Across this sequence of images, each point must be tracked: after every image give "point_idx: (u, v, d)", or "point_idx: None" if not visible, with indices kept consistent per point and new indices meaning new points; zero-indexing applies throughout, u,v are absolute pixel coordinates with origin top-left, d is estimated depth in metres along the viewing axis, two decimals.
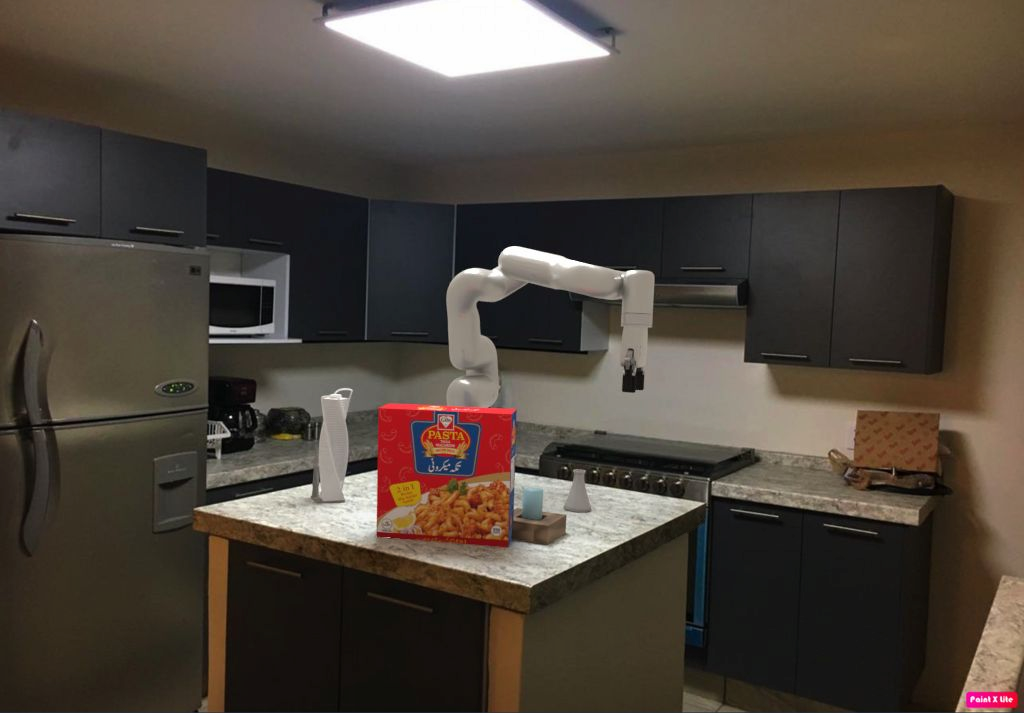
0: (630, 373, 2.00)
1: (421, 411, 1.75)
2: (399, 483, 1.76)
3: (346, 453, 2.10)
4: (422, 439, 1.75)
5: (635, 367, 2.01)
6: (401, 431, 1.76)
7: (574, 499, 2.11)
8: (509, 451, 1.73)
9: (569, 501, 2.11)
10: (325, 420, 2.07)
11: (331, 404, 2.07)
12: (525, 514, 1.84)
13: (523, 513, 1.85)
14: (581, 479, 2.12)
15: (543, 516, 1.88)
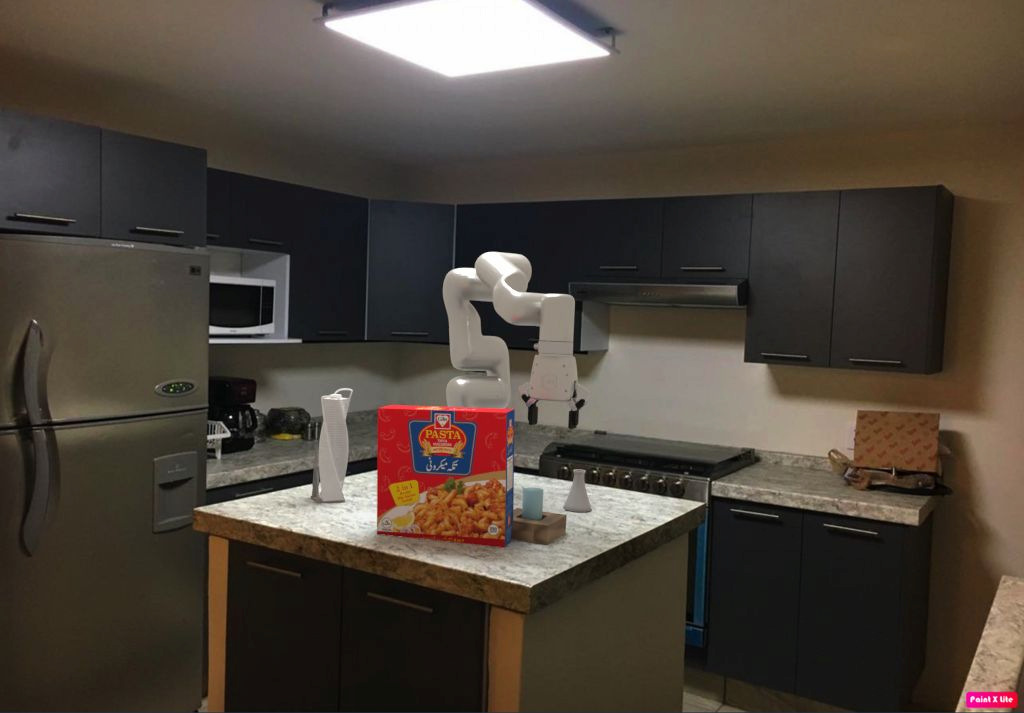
0: (581, 407, 1.85)
1: (418, 411, 1.77)
2: (398, 482, 1.79)
3: (346, 453, 2.10)
4: (420, 438, 1.77)
5: (576, 400, 1.87)
6: (399, 430, 1.78)
7: (574, 499, 2.11)
8: (504, 449, 1.74)
9: (569, 501, 2.11)
10: (325, 420, 2.07)
11: (331, 404, 2.07)
12: (525, 514, 1.84)
13: (523, 513, 1.85)
14: (581, 478, 2.12)
15: (543, 516, 1.88)
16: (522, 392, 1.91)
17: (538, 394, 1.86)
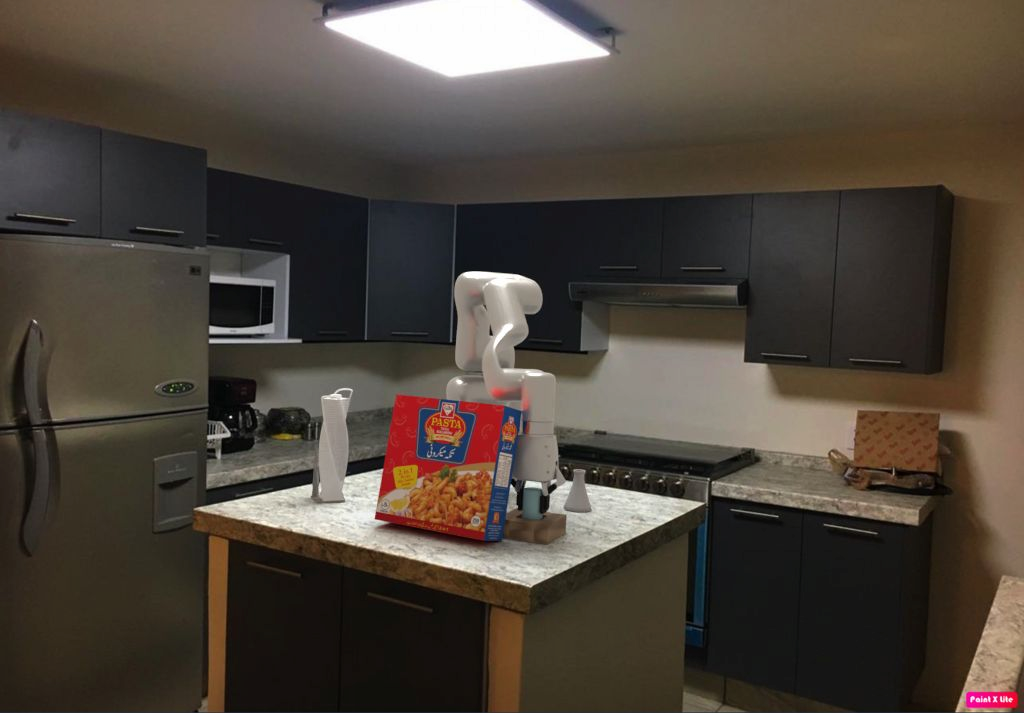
0: None
1: (429, 399, 1.86)
2: (401, 466, 1.85)
3: (346, 453, 2.10)
4: (426, 425, 1.84)
5: None
6: (410, 416, 1.87)
7: (574, 499, 2.11)
8: (497, 442, 1.75)
9: (569, 501, 2.11)
10: (325, 420, 2.07)
11: (331, 404, 2.07)
12: (525, 514, 1.84)
13: (523, 513, 1.85)
14: (581, 478, 2.12)
15: (543, 516, 1.88)
16: None
17: (519, 474, 1.84)
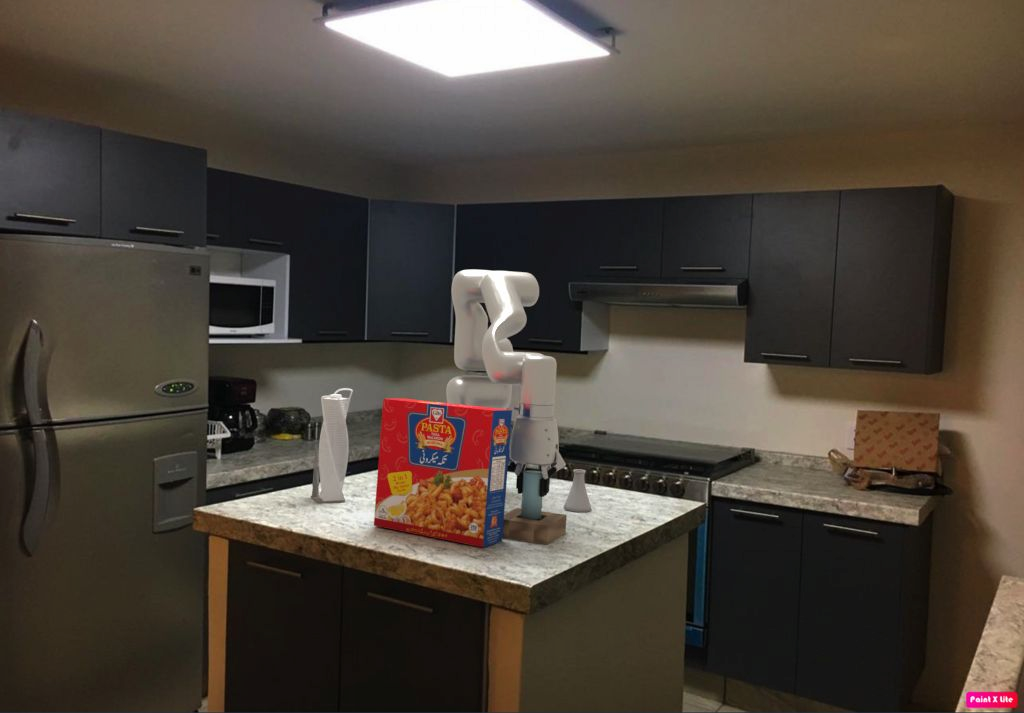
0: None
1: (417, 403, 1.82)
2: (395, 472, 1.84)
3: (346, 453, 2.10)
4: (417, 430, 1.81)
5: None
6: (400, 421, 1.84)
7: (574, 499, 2.11)
8: (489, 448, 1.73)
9: (569, 501, 2.11)
10: (325, 420, 2.07)
11: (331, 404, 2.07)
12: (525, 497, 1.84)
13: (523, 496, 1.85)
14: (581, 478, 2.12)
15: (543, 516, 1.88)
16: (509, 461, 1.87)
17: (519, 457, 1.84)
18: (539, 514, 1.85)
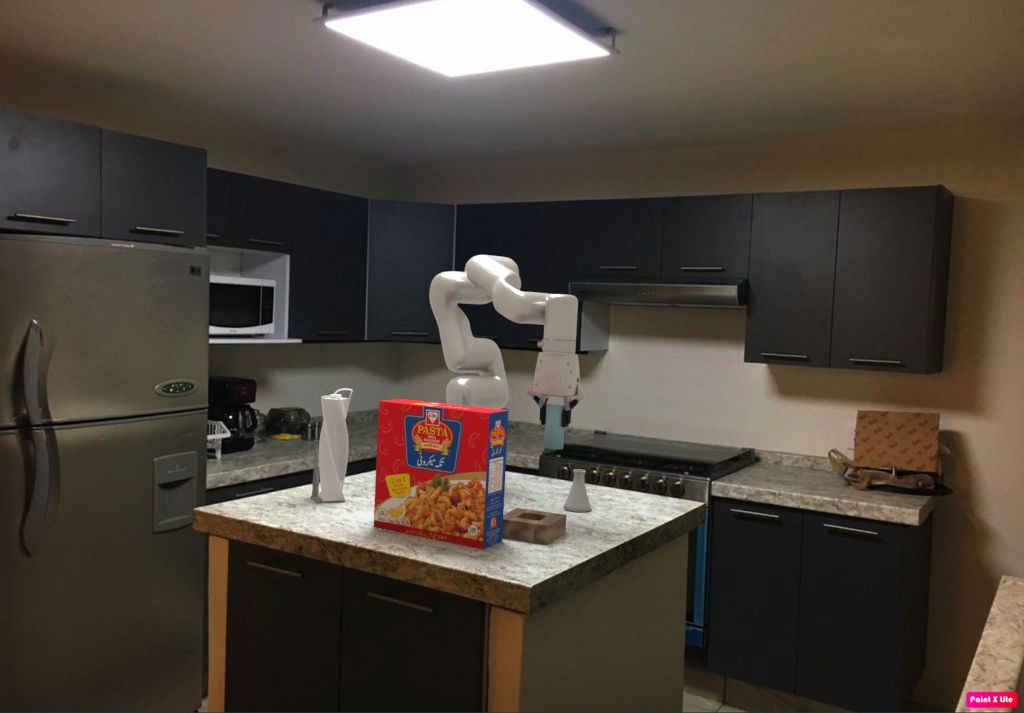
0: (573, 407, 1.96)
1: (412, 406, 1.80)
2: (393, 474, 1.83)
3: (346, 453, 2.10)
4: (413, 433, 1.80)
5: (571, 400, 1.96)
6: (396, 424, 1.82)
7: (574, 499, 2.11)
8: (486, 450, 1.72)
9: (569, 501, 2.11)
10: (325, 420, 2.07)
11: (331, 404, 2.07)
12: (548, 428, 1.95)
13: (546, 427, 1.96)
14: (581, 478, 2.12)
15: (543, 516, 1.88)
16: (532, 395, 1.98)
17: (542, 390, 1.95)
18: (561, 444, 1.96)
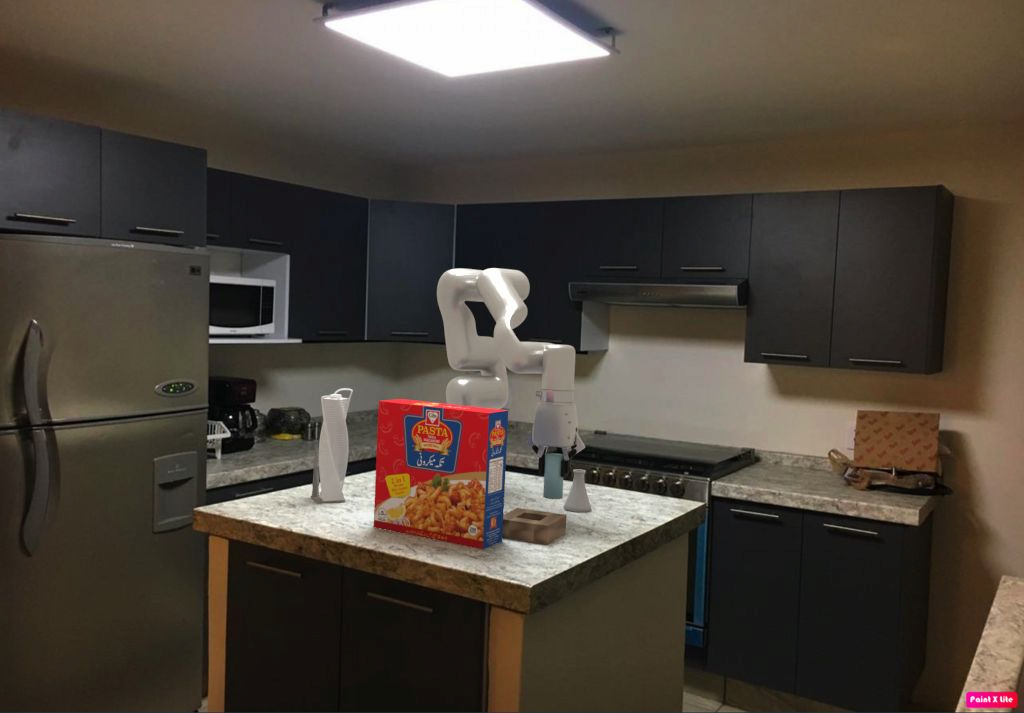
0: None
1: (412, 406, 1.80)
2: (393, 474, 1.83)
3: (346, 453, 2.10)
4: (413, 433, 1.80)
5: (570, 449, 1.97)
6: (396, 424, 1.82)
7: (574, 499, 2.11)
8: (486, 450, 1.72)
9: (569, 501, 2.11)
10: (325, 420, 2.07)
11: (331, 404, 2.07)
12: (547, 478, 1.96)
13: (545, 477, 1.96)
14: (581, 478, 2.12)
15: (543, 516, 1.88)
16: (531, 444, 1.99)
17: (541, 440, 1.96)
18: (560, 494, 1.96)
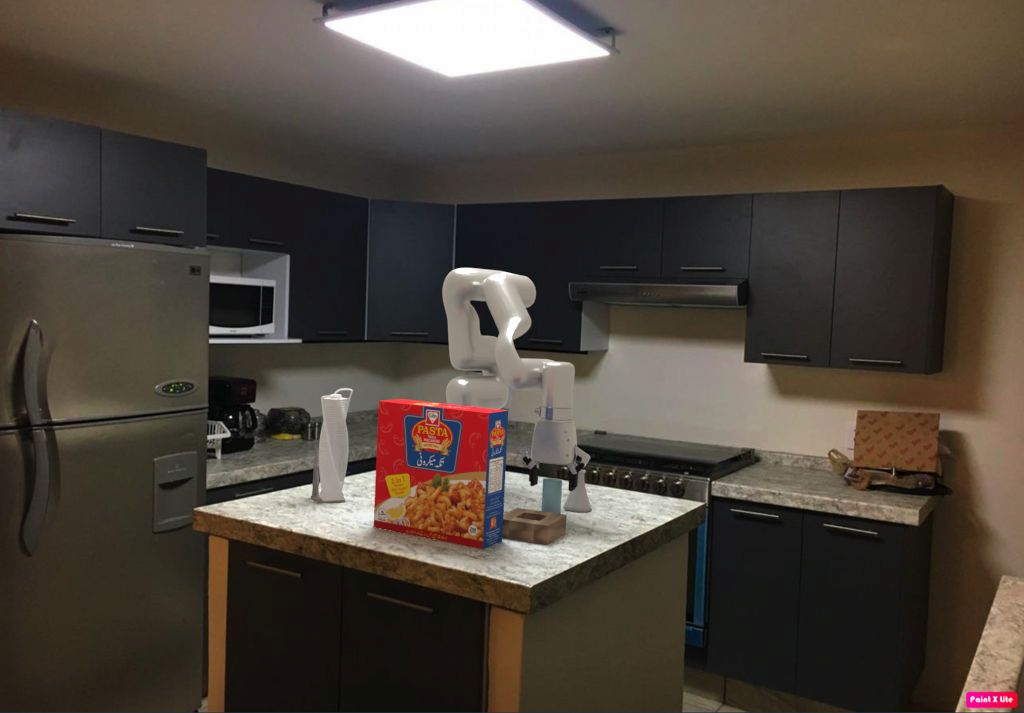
0: (580, 470, 1.96)
1: (412, 406, 1.80)
2: (393, 474, 1.83)
3: (346, 453, 2.10)
4: (413, 433, 1.80)
5: (575, 463, 1.97)
6: (396, 424, 1.82)
7: (574, 499, 2.11)
8: (486, 450, 1.72)
9: (569, 501, 2.11)
10: (325, 420, 2.07)
11: (331, 404, 2.07)
12: (545, 503, 1.96)
13: (543, 502, 1.97)
14: (581, 478, 2.12)
15: (543, 516, 1.88)
16: (523, 454, 2.00)
17: (540, 457, 1.96)
18: None
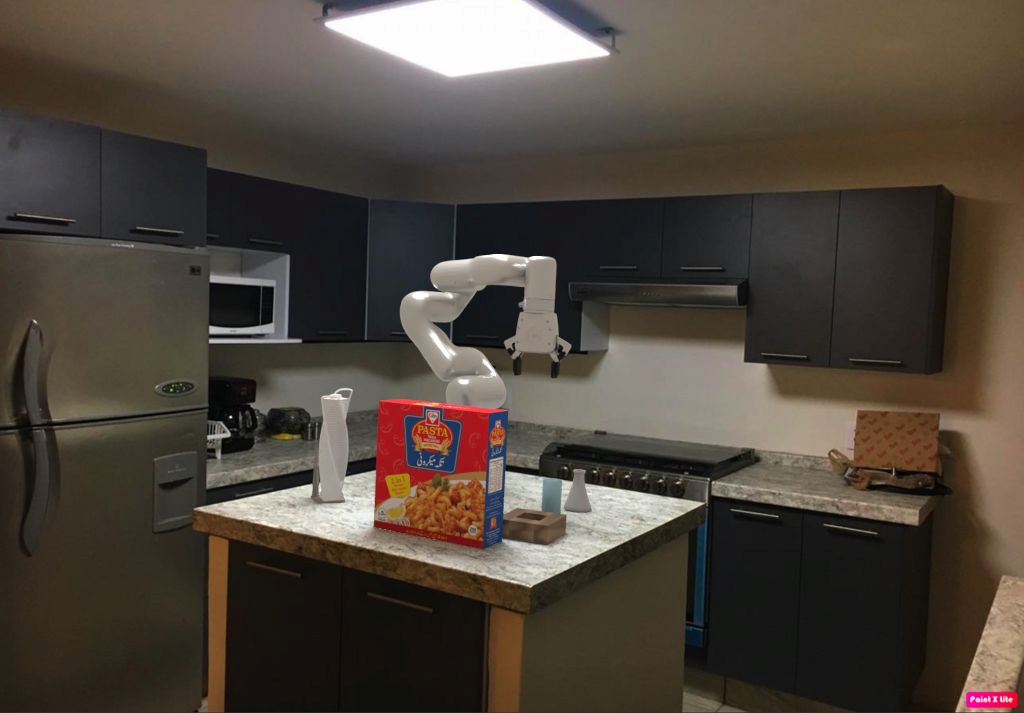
0: (561, 359, 2.06)
1: (412, 406, 1.80)
2: (393, 474, 1.83)
3: (346, 453, 2.10)
4: (413, 433, 1.80)
5: (557, 353, 2.08)
6: (396, 424, 1.82)
7: (574, 499, 2.11)
8: (486, 450, 1.72)
9: (569, 501, 2.11)
10: (325, 420, 2.07)
11: (331, 404, 2.07)
12: (545, 503, 1.96)
13: (543, 502, 1.97)
14: (581, 478, 2.12)
15: (543, 516, 1.88)
16: (507, 346, 2.10)
17: (523, 347, 2.06)
18: None
